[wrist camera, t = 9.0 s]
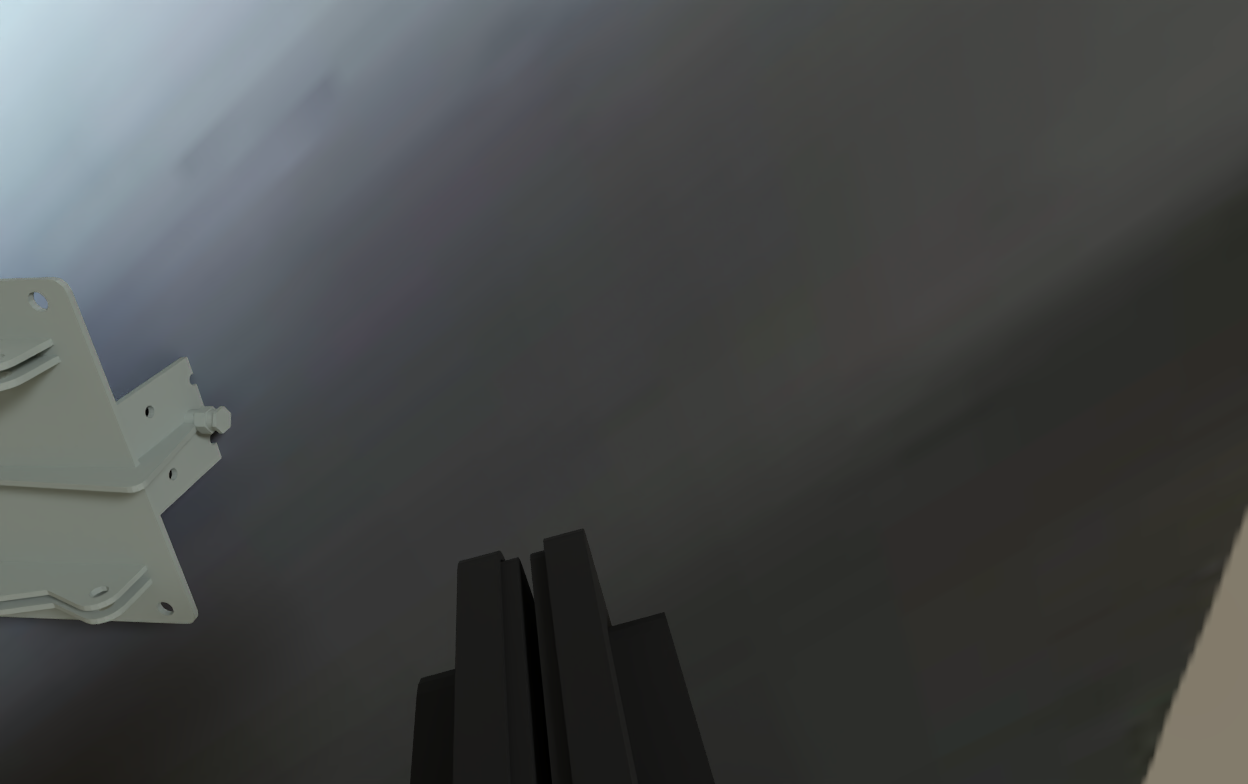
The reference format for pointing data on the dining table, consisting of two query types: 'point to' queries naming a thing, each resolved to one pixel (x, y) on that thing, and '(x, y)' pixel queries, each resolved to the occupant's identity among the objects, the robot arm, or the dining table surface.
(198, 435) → the metal bracket
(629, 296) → the dining table surface
